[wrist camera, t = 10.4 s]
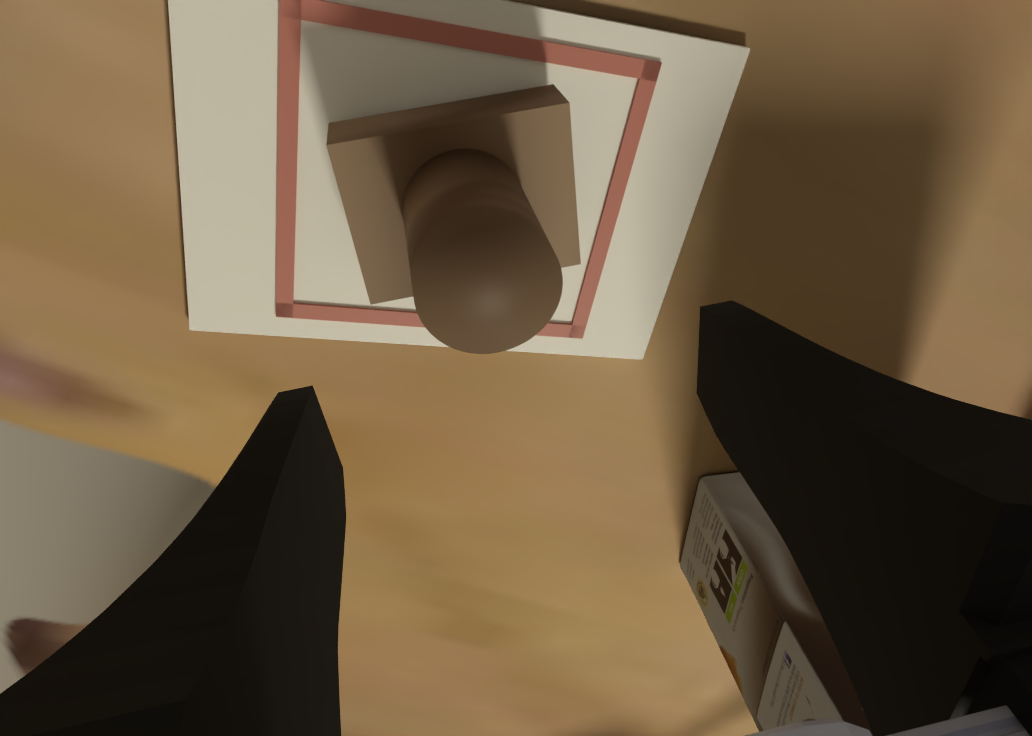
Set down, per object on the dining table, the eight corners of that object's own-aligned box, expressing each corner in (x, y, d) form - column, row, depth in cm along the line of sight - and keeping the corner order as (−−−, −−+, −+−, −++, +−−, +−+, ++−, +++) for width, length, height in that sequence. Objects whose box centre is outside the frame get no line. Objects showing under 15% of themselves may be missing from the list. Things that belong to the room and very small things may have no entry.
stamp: (549, 79, 19) (623, 163, 14) (562, 230, 22) (628, 349, 17) (329, 117, 19) (318, 219, 14) (369, 266, 22) (373, 401, 16)
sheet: (745, 46, 20) (752, 49, 20) (639, 354, 26) (643, 361, 26) (166, -67, 16) (162, -66, 16) (191, 324, 22) (189, 332, 22)
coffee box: (675, 571, 34) (872, 1010, 21) (698, 471, 30) (954, 930, 17) (851, 547, 35) (1137, 943, 22) (894, 449, 32) (1266, 857, 19)
